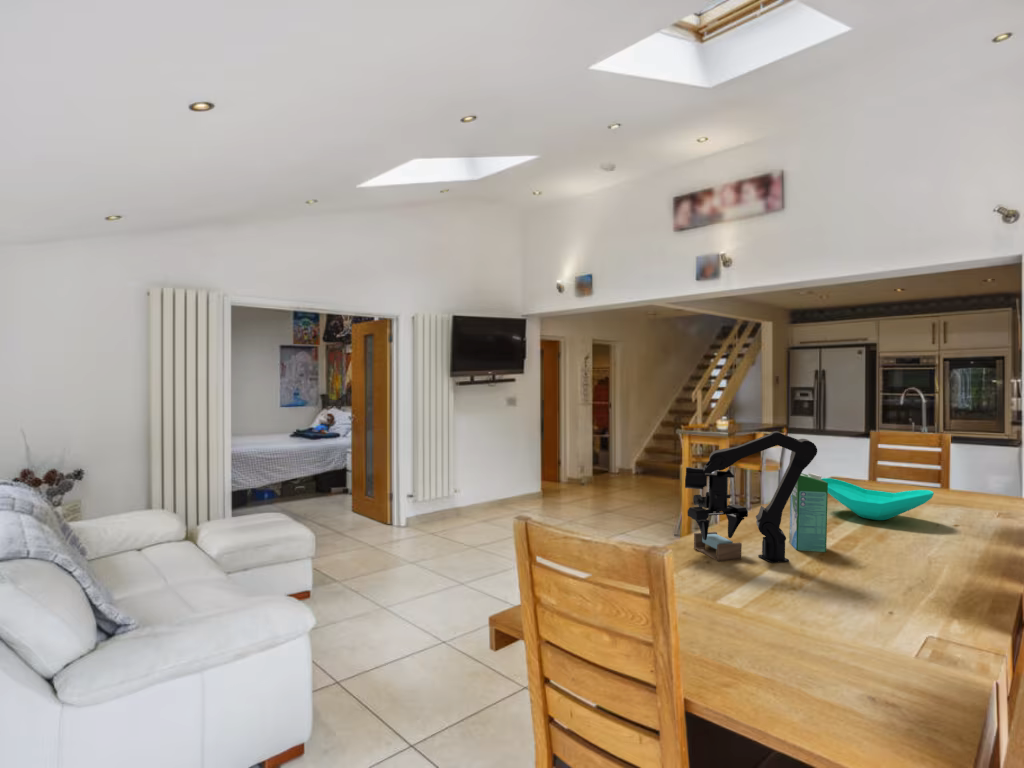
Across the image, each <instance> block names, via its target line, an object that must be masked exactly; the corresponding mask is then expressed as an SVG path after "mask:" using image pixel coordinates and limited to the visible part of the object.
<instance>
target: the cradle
mask: <svg viewBox="0 0 1024 768" xmlns="http://www.w3.org/2000/svg"><path fill="white" fill-rule="evenodd" d="M708 534H717V535H718V532H717V531H708ZM693 535H694V536H693V549H694V548H695V549H694V550H696V549H697V550H696V551H698V552H700V553H702V554H704V555H706V556H708V557H710V558H712V559H714V560H715V561H717V562H727V561H738V560H742V542H733V543H727V544H717V549H715V548H713V547H711V546H709V545H707V544H705V543H703V542H702V534H701V532H694V534H693Z"/></svg>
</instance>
